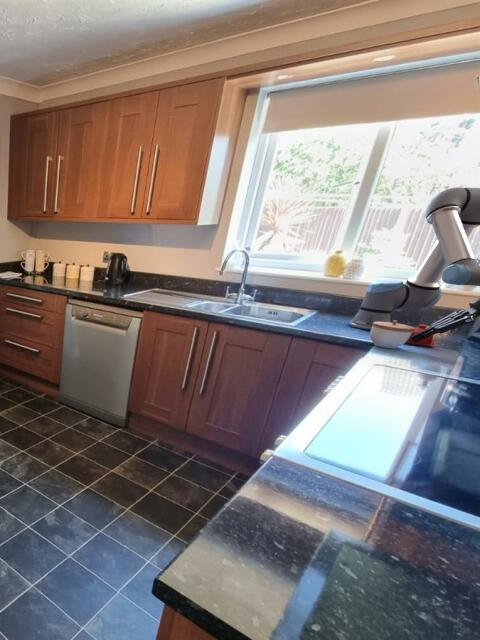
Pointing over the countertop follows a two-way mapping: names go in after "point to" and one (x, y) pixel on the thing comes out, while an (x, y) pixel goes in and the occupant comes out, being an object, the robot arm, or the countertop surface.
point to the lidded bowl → (390, 334)
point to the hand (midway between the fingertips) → (412, 339)
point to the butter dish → (424, 342)
